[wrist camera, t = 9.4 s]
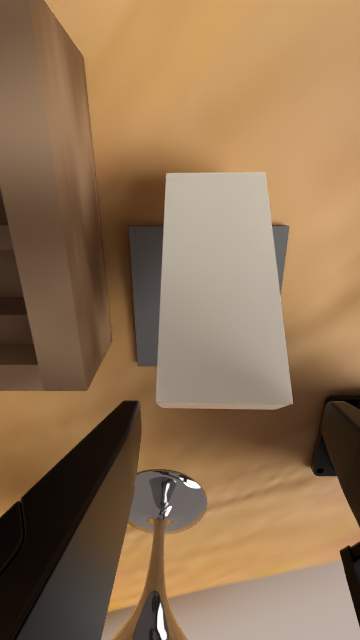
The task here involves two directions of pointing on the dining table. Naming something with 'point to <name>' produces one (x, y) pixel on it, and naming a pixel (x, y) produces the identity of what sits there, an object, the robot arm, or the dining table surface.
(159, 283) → the mat
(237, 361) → the block
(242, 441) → the dining table surface
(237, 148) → the dining table surface
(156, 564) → the wine glass
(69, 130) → the rectangular frame
